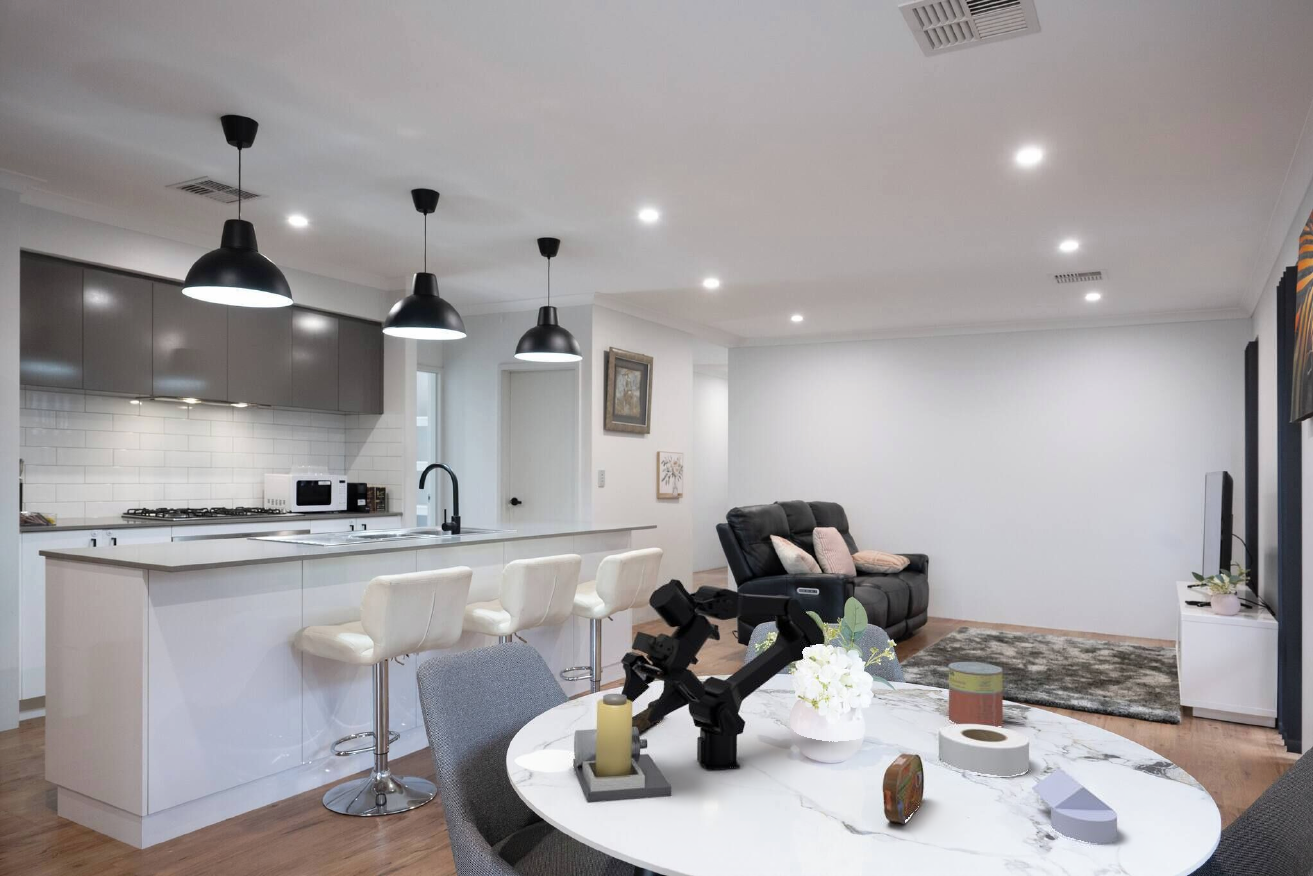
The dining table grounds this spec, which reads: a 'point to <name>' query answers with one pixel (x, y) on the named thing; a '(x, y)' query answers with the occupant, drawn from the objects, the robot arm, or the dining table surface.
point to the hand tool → (644, 718)
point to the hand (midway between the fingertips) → (633, 715)
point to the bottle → (613, 736)
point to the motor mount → (637, 785)
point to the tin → (903, 787)
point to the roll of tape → (984, 749)
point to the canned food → (975, 693)
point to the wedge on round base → (1077, 809)
